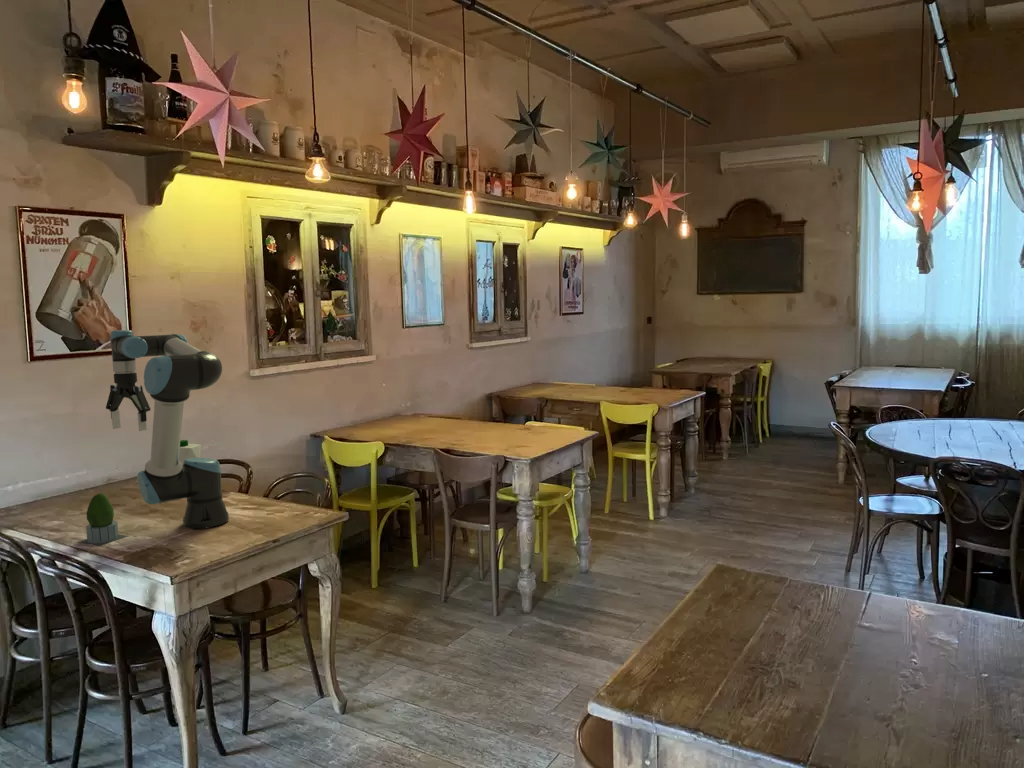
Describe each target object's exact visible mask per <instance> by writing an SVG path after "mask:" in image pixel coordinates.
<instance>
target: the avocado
mask: <svg viewBox="0 0 1024 768" xmlns="http://www.w3.org/2000/svg"><path fill="white" fill-rule="evenodd" d="M114 517H115V512H114V507H113V506H112V503H111V502H110V500H109V499H108V497H107V495H106V494H104V493H97V494H94V496H93V497H92V498H91V500H90V502H89V504H88V507H87V510H86V520H87V522H88V524H90V525H91V526H92V527H104V526H108V525H110V524H111V523H112V521H114Z"/></svg>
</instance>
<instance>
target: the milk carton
mask: <svg viewBox="0 0 1024 768" xmlns="http://www.w3.org/2000/svg"><path fill="white" fill-rule="evenodd" d="M201 448H202V444H198V443H189V440H186V439H180V450H179V461H180V462H181V463H182V465H183V464H184V460H185V459H189V458H201Z"/></svg>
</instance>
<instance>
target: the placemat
mask: <svg viewBox="0 0 1024 768" xmlns="http://www.w3.org/2000/svg"><path fill="white" fill-rule="evenodd" d="M127 537H129V535H125V534H121V533H120V534H119V533H118V538H117V539H115V540H113V541H110V542H105V543H97V544H93V545H92V546H94V545H95V546H94V547H102V546H105V545H107V544H110V543H113V542H116V541H118V540H121V539H124V538H127ZM76 543H78V544H85V545H88V544H92V543H88V542H87V538H85V539H80V540H79V541H76Z"/></svg>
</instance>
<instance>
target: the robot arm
mask: <svg viewBox="0 0 1024 768" xmlns="http://www.w3.org/2000/svg"><path fill="white" fill-rule="evenodd" d="M134 335H135V334H134V331H133V330H131V329H120V330H112V331H110V339H109V342H110V346H111V347H110V348H111V358H112V362H111V363H112V372H113V373H114V374H113V382H114V384H110V388H109V389H110V390H109V394H108V398H107V402H106V406H105V409H106V410H108V411H110V417H111V418H110V419H111V422H112V423H111V424H112V429H113V430H115V429H121V427H122V426H121V416H120V410H119V407H120V405H122V402H123V401H124V398H126V399H128V400H130V401H131V402H132V404H133V405H134V407H135V409H137V411H138V412H137V423H138V424H137V425H138V432H142V431H147V430H148V429H147V418H148V417H147V412H150V411H151V407H150V405H149V402H148V400H147V397H146V396H145V392H144V389H145V391H146V392H147V393H148V394H149V395H150V398H151V399H152V400H154V407H153V408H154V409H153V420H152V433H151V434H152V435H151V436H152V437H151V447H150V449H151V450H150V459H149V460H147V462H146V463H145V465H144V470H141V471H139V472H138V473H137V475H136V477H137V487H138V489H139V492H140V495H141V497H142V499H143V501H144V502H145V503H146V504H148V505H157V504H162V503H167V502H172V501H178V500H182V499H186V507H185V512H184V516H183V518H182V525H183V527H184V528H188V529H194V528H204V529H207V528H206V527H211V528H213V527H212V526H216V525H219V526H221V525H220V524H222V525H224V524H223V523H225V522H227V521H228V520H229V521H230V517H229V511H228V510H227V508H226V505H225V503H224V500H223V491H222V490H223V489H222V488H223V486H222V471H221V464H220V462H219V461H218V460H217V459H214V458H209V457H200V458H189V459H185V460H184V464H183V465H182V463H181V462H180V461H179V450H180V440H181V437H182V427H183V413H184V403H185V402H186V401H188V400H189V398H190V395H191V394H190V393H191V392H190V391H195V390H202V389H206V388H209V387H211V386H213V385H214V384H216V382H218V380H220V377H221V376H222V373H223V364H222V362H221V360H220V359H219V357H218V356H217V355H215V354H214V353H212V352H210V351H207V350H201V349H198V348H197V347H194V346H193V345H191V344H190V343H188V340H187V338H186V336H185V335H184V334H182V333H181V334H180V333H179V334H178V333H171V334H157V335H138V336H136V335H135V336H134ZM146 357H147V358H148V357H151V358H150V359H149V360H148V361H147V363H146V365H145V368H144V372H143V380H144V381H143V386H144V387H143V386H142V385H136V383H137V382H138V375H137V372H136V371H137V364H136V359H140V358H146ZM143 388H144V389H143ZM229 521H228V522H229ZM228 522H227V523H228ZM225 524H226V523H225ZM216 527H217V526H216Z"/></svg>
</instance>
